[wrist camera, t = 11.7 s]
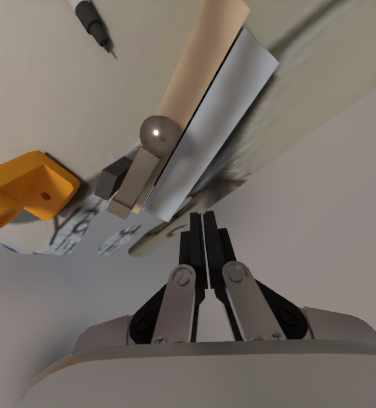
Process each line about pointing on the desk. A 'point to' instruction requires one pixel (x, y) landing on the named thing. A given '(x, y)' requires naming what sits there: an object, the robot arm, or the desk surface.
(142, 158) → the door handle
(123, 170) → the doorframe
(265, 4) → the desk surface
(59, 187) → the bracket
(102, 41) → the marker
